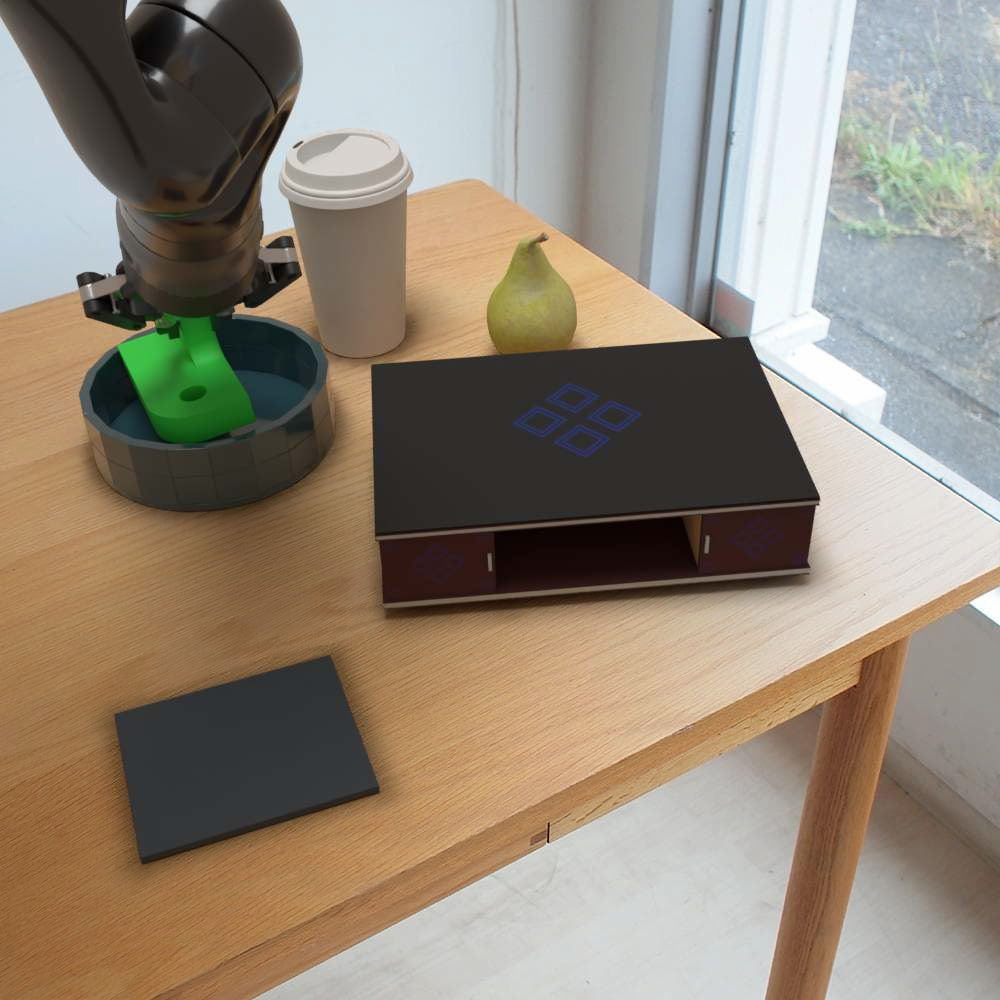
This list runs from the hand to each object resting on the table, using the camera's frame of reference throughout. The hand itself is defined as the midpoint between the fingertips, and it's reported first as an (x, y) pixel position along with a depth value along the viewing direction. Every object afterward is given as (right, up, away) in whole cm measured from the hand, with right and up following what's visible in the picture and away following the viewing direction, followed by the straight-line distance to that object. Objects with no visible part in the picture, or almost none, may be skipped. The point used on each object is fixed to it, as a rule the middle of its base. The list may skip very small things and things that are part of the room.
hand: (191, 320), depth 88 cm
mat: (+7, -25, -18) cm, 32 cm away
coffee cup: (+10, +1, +14) cm, 17 cm away
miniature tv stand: (+25, -13, -3) cm, 29 cm away
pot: (+1, -8, +4) cm, 9 cm away
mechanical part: (0, -5, +1) cm, 5 cm away
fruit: (+23, -1, +11) cm, 25 cm away
